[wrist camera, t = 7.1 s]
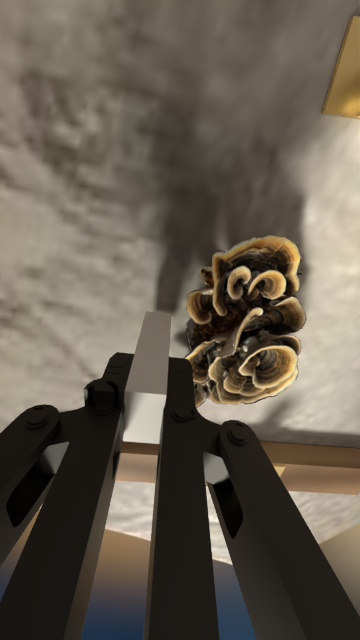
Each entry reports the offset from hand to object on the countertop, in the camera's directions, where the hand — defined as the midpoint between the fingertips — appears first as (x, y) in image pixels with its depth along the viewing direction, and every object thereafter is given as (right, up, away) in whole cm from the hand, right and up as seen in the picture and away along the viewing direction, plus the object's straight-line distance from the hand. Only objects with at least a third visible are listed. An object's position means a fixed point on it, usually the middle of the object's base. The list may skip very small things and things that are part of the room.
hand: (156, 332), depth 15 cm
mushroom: (+5, +1, +2) cm, 5 cm away
